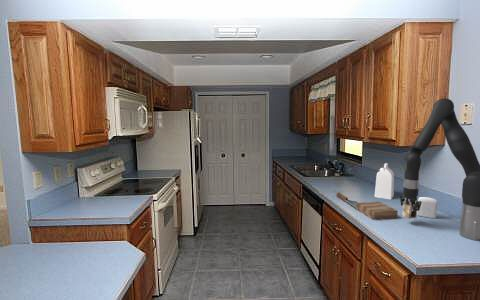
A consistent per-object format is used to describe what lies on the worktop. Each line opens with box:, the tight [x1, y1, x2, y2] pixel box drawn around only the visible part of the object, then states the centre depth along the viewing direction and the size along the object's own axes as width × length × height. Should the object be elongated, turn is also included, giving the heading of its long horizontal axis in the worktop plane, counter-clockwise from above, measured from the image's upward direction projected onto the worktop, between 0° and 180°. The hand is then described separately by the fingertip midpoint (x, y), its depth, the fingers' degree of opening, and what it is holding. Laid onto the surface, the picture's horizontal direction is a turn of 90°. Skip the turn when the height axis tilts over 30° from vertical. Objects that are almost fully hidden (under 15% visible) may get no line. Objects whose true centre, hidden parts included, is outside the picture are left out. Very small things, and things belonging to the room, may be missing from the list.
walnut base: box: [356, 201, 399, 221], centre depth 178 cm, size 18×16×5 cm
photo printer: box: [417, 196, 438, 219], centre depth 173 cm, size 10×4×12 cm, turn 60°
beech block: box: [402, 203, 418, 220], centre depth 162 cm, size 5×5×7 cm
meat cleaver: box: [336, 192, 359, 210], centre depth 202 cm, size 34×11×4 cm, turn 4°
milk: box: [374, 162, 395, 200], centre depth 216 cm, size 12×12×26 cm
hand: (409, 215), depth 162 cm, fingers closed on beech block, 5 cm apart
